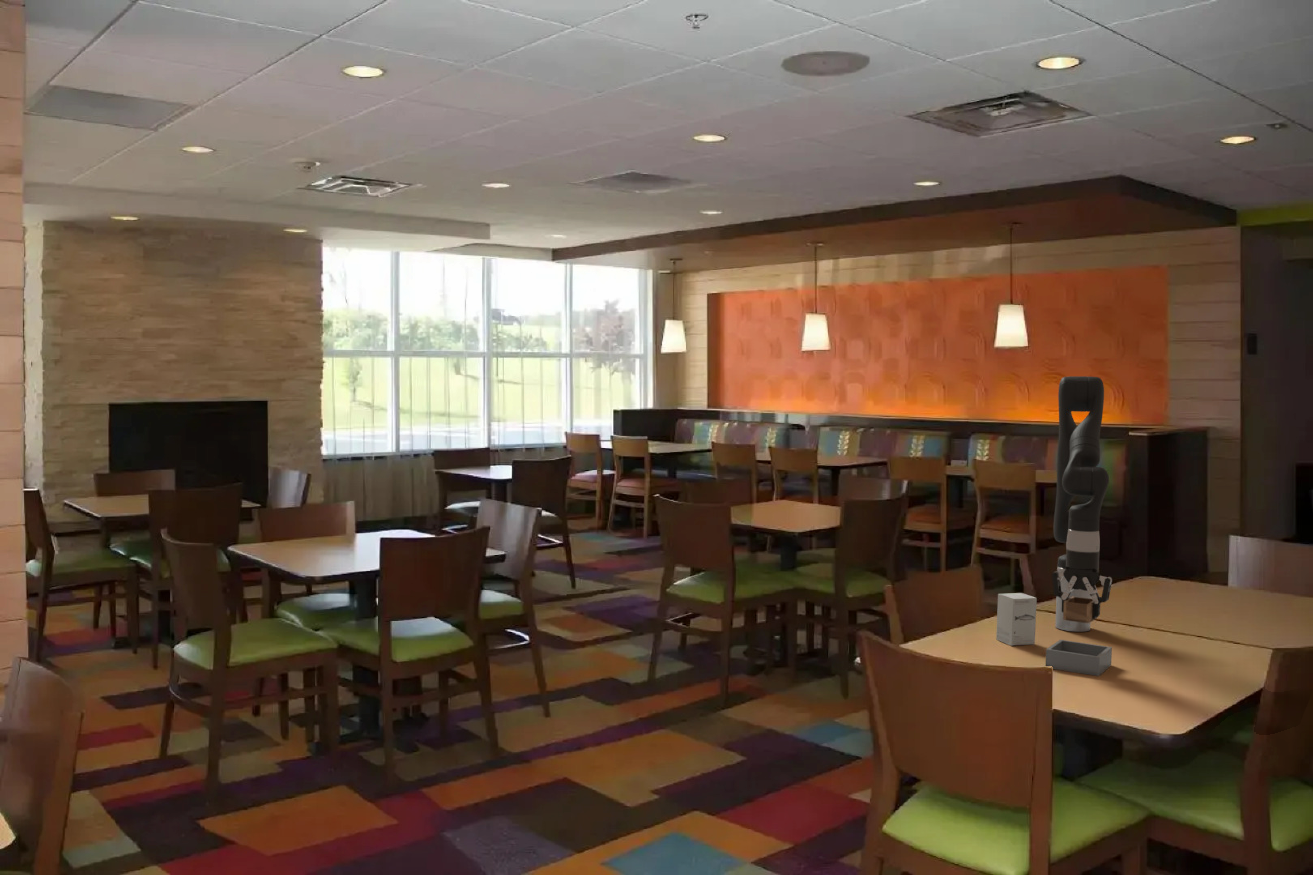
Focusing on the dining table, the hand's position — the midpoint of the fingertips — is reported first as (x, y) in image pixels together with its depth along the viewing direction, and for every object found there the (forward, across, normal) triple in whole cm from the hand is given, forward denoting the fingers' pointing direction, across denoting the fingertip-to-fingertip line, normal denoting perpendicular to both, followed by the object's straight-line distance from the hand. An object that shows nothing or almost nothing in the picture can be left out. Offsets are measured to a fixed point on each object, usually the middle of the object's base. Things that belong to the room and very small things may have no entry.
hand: (1080, 616), depth 272 cm
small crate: (+1, 0, 0) cm, 1 cm away
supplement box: (+13, +20, -15) cm, 28 cm away
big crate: (+12, 0, 0) cm, 12 cm away
